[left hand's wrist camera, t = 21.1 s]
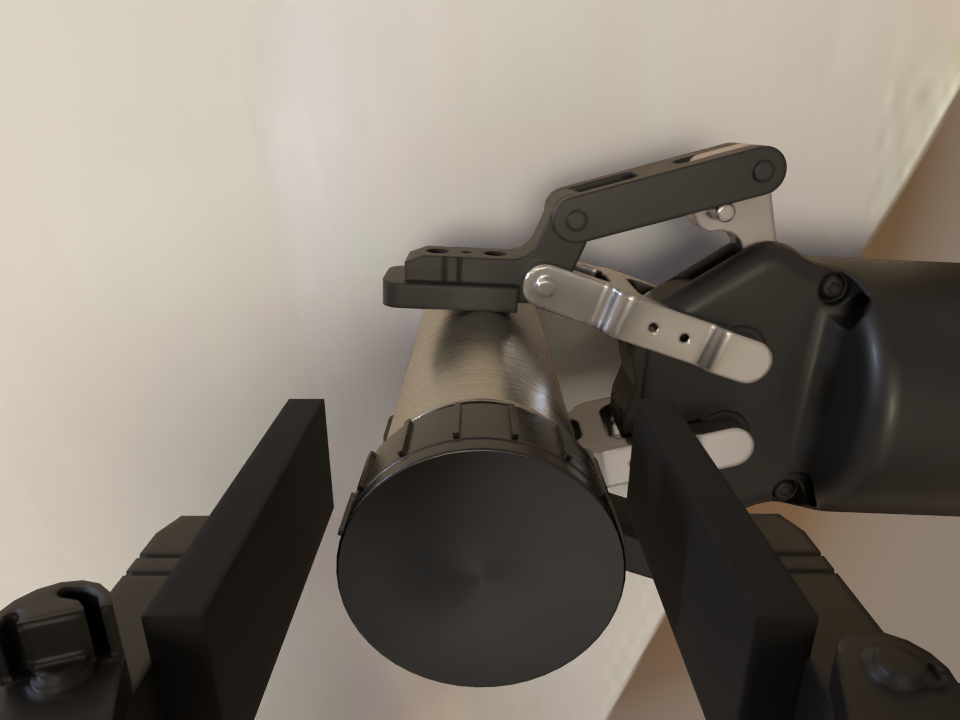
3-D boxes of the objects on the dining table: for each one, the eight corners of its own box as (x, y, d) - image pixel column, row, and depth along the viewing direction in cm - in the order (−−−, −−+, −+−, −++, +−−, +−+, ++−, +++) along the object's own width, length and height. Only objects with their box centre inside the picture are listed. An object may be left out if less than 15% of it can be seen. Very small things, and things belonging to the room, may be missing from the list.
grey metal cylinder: (450, 239, 24) (410, 399, 11) (551, 280, 25) (641, 484, 11) (411, 337, 26) (331, 593, 12) (508, 374, 26) (541, 660, 12)
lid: (562, 362, 11) (576, 403, 10) (639, 578, 13) (663, 644, 11) (309, 450, 12) (281, 504, 10) (412, 646, 13) (403, 720, 12)
